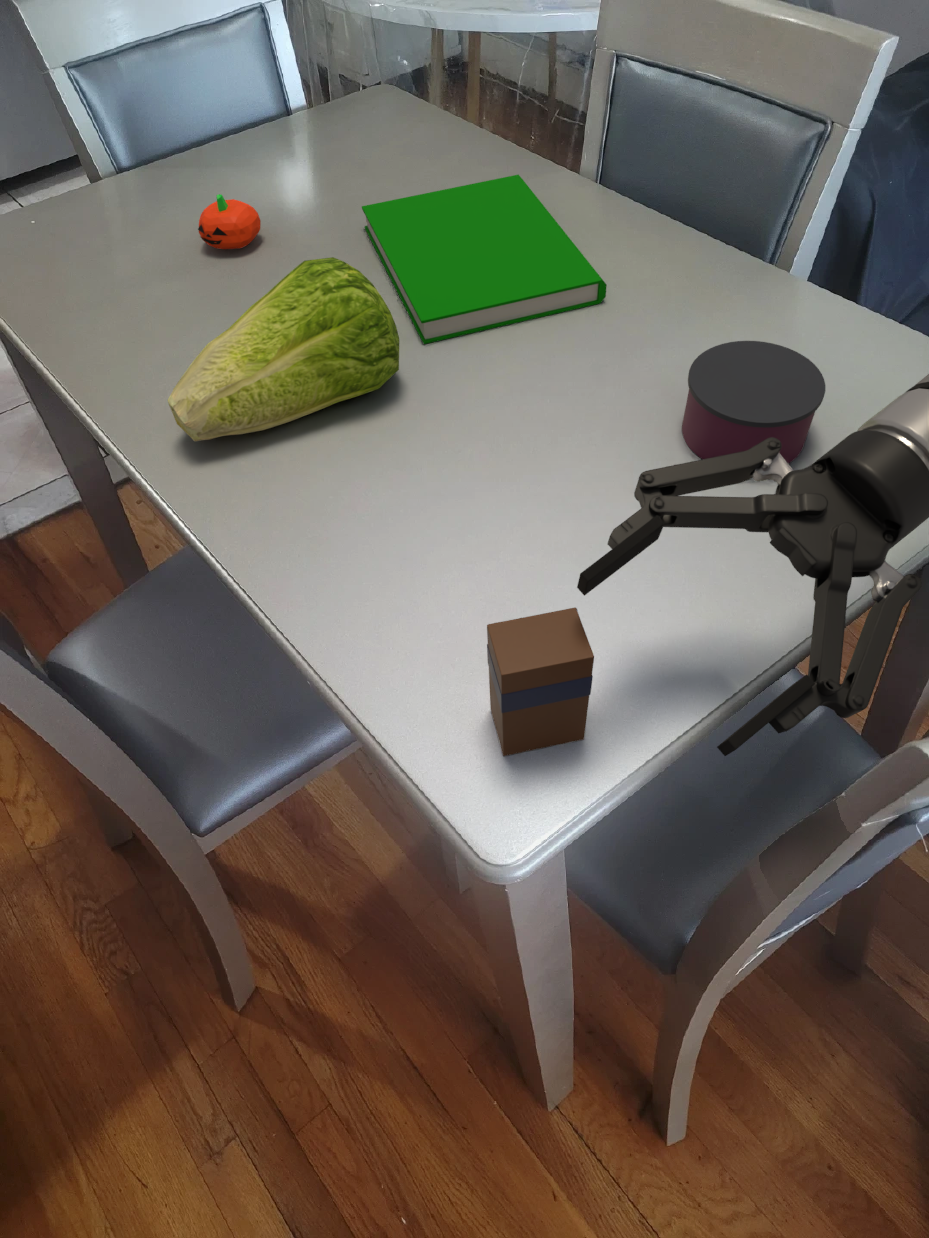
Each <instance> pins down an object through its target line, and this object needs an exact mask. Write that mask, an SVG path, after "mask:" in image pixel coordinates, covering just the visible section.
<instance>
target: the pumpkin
mask: <svg viewBox="0 0 929 1238" xmlns="http://www.w3.org/2000/svg"><path fill="white" fill-rule="evenodd" d="M261 222H262V221H261V218H260V215H259V212H257V210H256V208H255V207H254V206H252V205H250V204H248V203H246V202H243V201H242V200H238V199H235V198H233V199H225V197H224V196H223V195H222V194H221V193H220V194H216V200H215V201H214V202H212V203H211V204H209V205H208V206H206V207H205V208H204V209H203V211H202V212H201V213H200V216H199V220H198V228H197V230H198V234H199V237H200V238H201V240H202V241H203V242H204V243H205V244H206V245H208V246H210V247H211V248H214V249H217V250H218V249H219V250H233V249H234V250H235V249H237V250H238V249H243V248H245V247H246V246H248V245H250V243H252V242H254V239H255V238H256V237H257V235H258V234H259V233H260V231H261V224H262V223H261Z"/></svg>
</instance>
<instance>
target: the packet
mask: <svg viewBox="0 0 929 1238" xmlns="http://www.w3.org/2000/svg"><path fill="white" fill-rule="evenodd" d="M486 635H487V636H486V637H487V644H486V654H487V665H488V680H489V681H488V682H489V685H488V686H489V703H490V704H489V705H490V712H491V716H492V720H493V723H494V728H495V731H496V734H497V738H498V743H499V746H500V750H501V754H502V756H503V757H507V756H512V755H516V754H517V755H518V754H521V753H526V752H531V751H536V750H540V749H545V748H549V747H555V746H560V745H565V744H569V743H574V742H575V743H576V742H578V741H583V740H585V734H586V728H587V727H586V726H587V719H588V710H589V702H590V696H591V694H592V693H591V692H592V685H593V678H594V677H593V670H594V663H595V662H594V661H595V654H594V652H593V650H592V646H591V644H590V641H589V638H588V636H587V633H586V631H585V628H584V626H583V622H582V620H581V617H580V615H579V612H578V609H577V607H570V608H566V609H560V610H555V611H549V612H545V613H540V614H534V615H529V616H525V617H519V618H518V617H517V618H514V619H508V620H503V621H498V622H493V623H488V624H486Z"/></svg>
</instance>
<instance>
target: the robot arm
mask: <svg viewBox="0 0 929 1238" xmlns="http://www.w3.org/2000/svg"><path fill="white" fill-rule="evenodd" d="M781 448H782V444H781V442H780V440H778V439H777V438H774V437H770V438H767V439H765V440H764V441H762V442H760V443H759V444H757V445H755V446H754V447H752V448H750V449H748V450H747V451H742V452H737V453H732V454H727V455H722V456H717V457H712V458H707V459H697V460H693V461H692V460H691V461H687V462H682V463H678V464H673V465H672V464H671V465H667V466H663V467H658V468H653V469H648V470H645V471H642V472H641V473H640V474H639V476H638V480H637V483H636V485H635V489H634V492H633V497H634V499H635V500H636V501H637V502H638V503H639V505H640V509H638V510H637V511H636V512H634V513H633V514H632V515H631V516H629V517H628V518H626V519H625V520H624V521H623V522H621V523H620V524H618V525H617V526H616V527H615V528H613V529H612V531H611V533H610V535H609V537H608V541H607V545H608V547H609V548H610V550H609V551H608V552H606V553H604V555H602V556H601V557H600V558H599V559H597V560H596V561H595V562H593V563H592V564H590V565H589V566H588V567H587V568H585V569H584V570H583V571H582V572H580V573H579V578H578V582H577V585H576V586H577V587H576V588H577V590H579V591H580V593H581V594H582V595H583V596H586V595H588V594H589V593H590V592H591V591H593V590H594V589H595V588H597V587H598V586H599V585H601V584H602V583H603V582H604V581H606V580H607V579H609V578H610V577H611V576H612V575H613V574H615V573H616V572H617V571H619V570H620V569H621V568H623V567H624V566H625V565H627V564H628V563H630V562H631V561H632V560H633V559H635V557H637V556H638V555H639V554H642V552H643V551H645V550H646V549H648V548H649V547H650V546H652V545H653V544H654V543H655V542H656V541H658V540H659V538H660V536H661V534H662V531H663V529H664V528H684V529H685V528H686V529H687V528H688V529H734V530H746V531H747V532H748V533H768V536H769V538H770V540H769V542H768V543H769V544H770V545H771V546H772V547H773V548H774V549H775V550H776V551H777V552H779V553H781V554H782V555H783V556H785V557H786V558H788V560H789V561H790V564H791V565H792V567H793V569H794V570H795V571H796V572H798V574H799V575H800V576H801V577H804V576H807V577H809V578H812V579H814V586H813V587H814V588H813V601H814V610H813V619H812V630H811V641H810V650H809V660H808V668H807V669H808V671H807V674H805V675H804V676H803V677H801V678H800V679H798V680H797V681H795V682H794V683H792V684H791V685H790V686H789V687H787V688H786V689H785V690H784V691H783V692H782V693H780V694H779V695H778V696H776V697H775V698H774V699H773V700H772V701H771V702H769V703H768V704H767V705H766V706H765V707H763V708H762V709H761V710H759V712H757V713H756V714H755V715H754V716H753V717H751V718H750V719H749V720H747V721H746V722H745V723H744V724H742V725H741V726H740V727H739V728H738V729H737V730H735V731H734V732H733V733H732V734H731V735H729V736H728V737H727V738H726V739H725V740H724V741H722V742H721V743H720V744H718V745H717V746H716V748H717V749H718V751H720V753H721V754H722V755H723V756H724V757H726V756H729V755H730V754H732V753H734V752H735V751H736V750H738V749H739V748H740V747H741V746H743V745H744V744H745V743H746V742H748V740H750V739H751V738H752V737H753V736H754V735H756V734H757V733H758V732H759V731H760V730H762V729H763V728H764V727H765V726H766V725H768V724H769V725H770V726H771V727H772V728H773V730H774V731H775V732H776V733H778V734H779V735H780V734H783V733H785V732H788V731H790V730H792V729H794V728H795V727H796V726H797V725H798V724H799V723H800V722H802V721H804V720H805V718H807V717H808V716H809V715H810V714H811V713H813V712H814V711H815V710H816V709H818V708H819V707H820V706H821V707H826V708H828V709H830V710H832V711H834V713H835V714H836V715H837V716H838V717H839V718H842V719H848V718H850V717H852V716H854V715H857V714H858V713H860V712H862V711H864V710H866V709H867V708H868V706H869V705H870V702H871V698H872V697H873V696H872V695H873V693H874V690H875V688H876V684H877V682H878V679H879V676H880V673H881V671H882V667H883V665H884V662H885V659H886V656H887V653H888V651H889V648H890V645H891V643H892V639H893V637H894V633H895V631H896V628H897V627H898V626H897V625H898V623H899V620H900V617H901V614H902V611H903V608H904V607H905V606H906V605H907V604H908V603H909V602H910V601H911V599H912V598H913V597H914V596H915V595H916V594H917V593H918V592H919V591H920V590H921V588H922V585H923V583H922V580H921V578H920V577H919V576H918V575H917V574H915V573H907V574H905V575H903V574H902V573H901V572H900V571H898V570H897V569H896V568H895V567H894V566H892V565H891V564H889V562H888V561H886V558H887V555H888V553H889V551H890V550H891V549H893V547H895V546H896V545H897V544H898V543H900V542H901V541H902V540H903V539H904V538H906V537H907V536H908V535H910V534H911V533H913V531H914V530H916V529H917V528H919V526H921V525H922V524H923V523H925V522H926V521H927V520H928V519H929V373H927V375H924V377H923V378H921V379H920V380H919V381H918V382H916V383H915V384H914V385H913V386H912V387H910V388H909V389H907V390H906V391H905V392H904V393H902V394H900V395H899V396H897V397H896V398H895V399H893V400H892V401H891V402H889V403H888V404H887V405H886V406H884V407H883V408H882V409H880V410H878V412H877V413H875V414H874V415H873V416H872V417H870V418H869V419H868V420H866V421H865V422H864V423H863V424H861V426H859V427H858V429H857V430H856V431H854V432H852V433H850V434H849V435H848V436H846V437H845V438H844V439H842V440H841V441H840V442H838V443H837V444H836V445H835V446H833V447H832V448H831V449H829V450H828V451H827V452H825V453H824V454H823V455H821V456H820V457H819V458H818V459H816V460H815V461H813V463H811V464H809V466H806V467H804V468H800V469H793V467H791V465H790V463H789V464H788V463H787V462H786V461H785V459H784V458H783V457H782V456H781V454H780V453H779V452H780V450H781ZM751 479H753V480H754V481H755V482H764V481H769V480H771V481H774V482H775V483H776V484H777V486H776V488H775V493H773V494H771V493H763V494H758V495H756V496H705V495H704V496H703V495H702V496H701V495H688V494H694V493H699V492H704V491H708V490H713V489H718V488H723V487H728V486H733V485H737V484H738V485H739V484H742V483H744V482H747V481H749V480H751ZM864 577H870V578H871V579H872V581H873V586H872V588H871V591H870V592H871V593H870V594H871V599H872V601H874V602H875V603H874V604H873V605H872V606H871V608H870V610H869V611H868V613H867V615H866V617H865V621H864V624H863V626H862V629H861V632H860V633H859V637H858V639H857V643H856V646H855V647H854V648H855V649H854V650H853V653H852V655H851V659H850V662H849V664H848V667H847V669H846V672H845V675H844V678H843V679H842V680H843V681H842V683H840V682H841V672H842V662H843V651H844V639H845V627H846V618H847V608H848V607H847V606H848V595H849V591H850V589H851V587H852V580H853V578H864Z"/></svg>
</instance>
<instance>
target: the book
mask: <svg viewBox="0 0 929 1238" xmlns="http://www.w3.org/2000/svg"><path fill="white" fill-rule="evenodd" d="M361 209H362V212H363V214H364V216H365V220H366V225H364V230H365V232H366V234H367V235H368V238H369V240H370V241H371V244H372V246H373V248H374V250H375V252H376V253H377V256H378V257H379V259H380V262H381V263H382V265H383V267H384V270H385V271H386V273H387V275H388V277H389V280H390V281H391V283H392V285H393V287H394V288H395V289H394V290H395V291H396V293H397V295H398V297H399V298H400V300H401V303H402V304H403V306H404V308H405V310H406V312H407V315H408V316H409V318H410V320H411V322H412V324H413V326H414V328H415V330H416V332H417V334H418V336H419V338H420V340H421V342H422V344H423V345H427V344H431V343H436V342H439V341H445V340H449V339H452V338H457V337H461V336H466V335H470V334H475V333H479V332H482V331H487V330H492V329H495V328H496V329H497V328H500V327H505V326H508V325H509V326H510V325H513V324H517V323H522V322H526V321H530V320H531V321H532V320H535V319H540V318H544V317H548V316H552V315H556V314H560V313H565V312H569V311H574V310H577V309H583V308H586V307H590V306H596V305H599V304H602V303H603V301H604V300H605V299H606V296H607V283H606V282H605V281H604V279H603V278H602V277H601V276H600V274H599V273H598V272H597V271H596V269H595V268H594V266H592V264H591V263H590V262H589V260H588V259H587V258H586V257H585V255H584V254H583V253H582V252H581V250H580V249H579V248H578V247H577V246H576V244H575V243H574V242H573V241H572V239H571V238H570V237H569V235H568V234H567V233H566V232H565V230H564V229H563V228H562V227H561V226H560V224H559V223H558V221H557V220H556V219H555V218H554V216H553V215H552V214H551V213H550V211H549V210H548V209H547V208H546V207H545V205H544V204H543V203H542V202H541V200H540V199H539V198H538V197H537V196H536V194H535V193H534V191H533V190H532V189H531V187H529V185H528V184H527V183H526V181H525V180H524V179H523V178H522V177H521V176H520V174H513V175H509V176H505V177H499V178H494V179H489V180H484V181H480V182H475V183H470V184H465V185H460V186H454V187H449V188H444V189H440V190H435V191H430V192H426V193H421V194H416V195H410V196H406V197H402V198H396V199H390V200H386V201H381V202H376V203H372V204H365V205H361Z"/></svg>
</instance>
